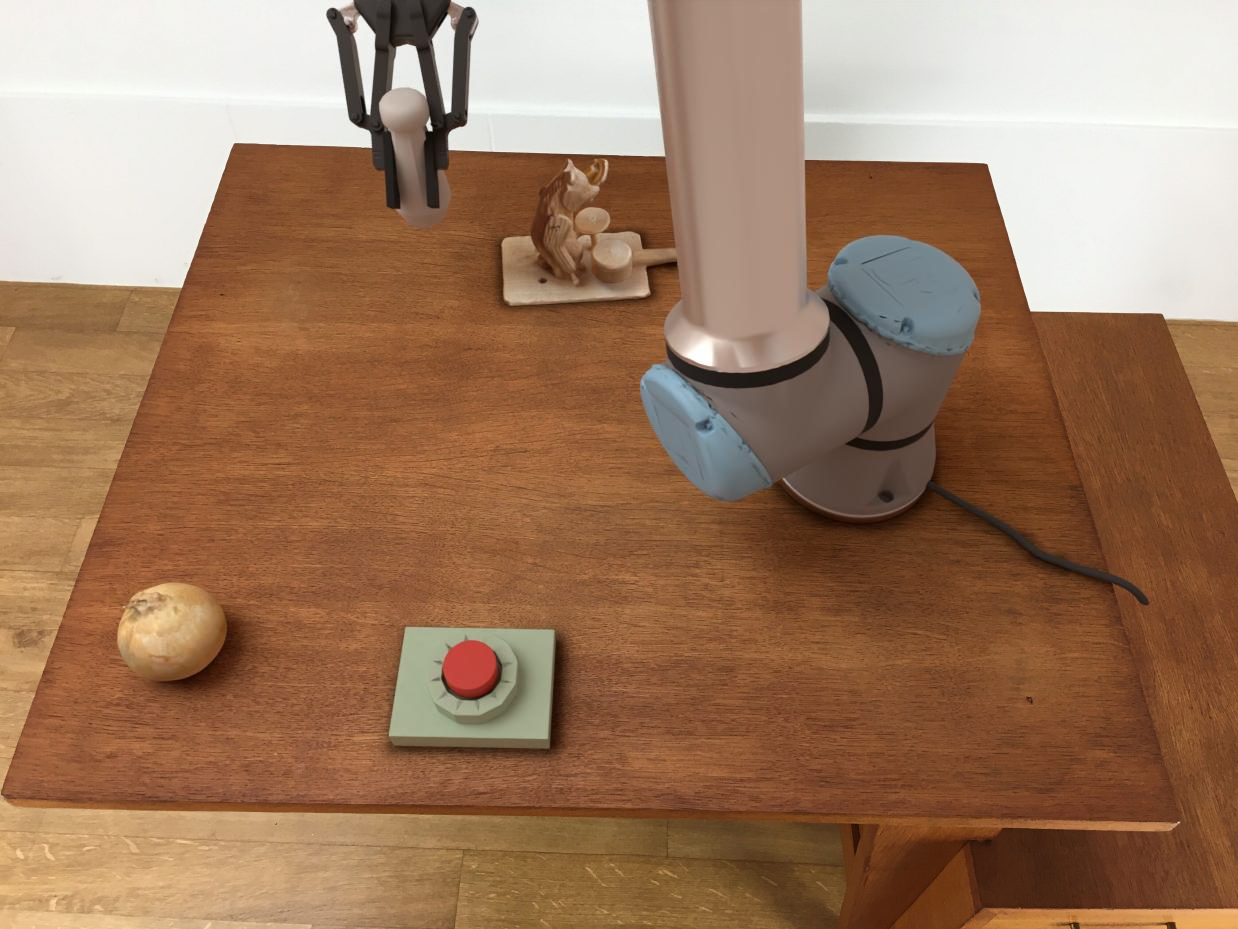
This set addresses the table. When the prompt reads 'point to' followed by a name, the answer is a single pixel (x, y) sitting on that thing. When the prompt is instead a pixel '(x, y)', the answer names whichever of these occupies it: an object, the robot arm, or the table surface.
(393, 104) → the salt shaker
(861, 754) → the table surface
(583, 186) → the wooden toy
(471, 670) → the switch
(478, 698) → the switch base
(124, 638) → the onion
